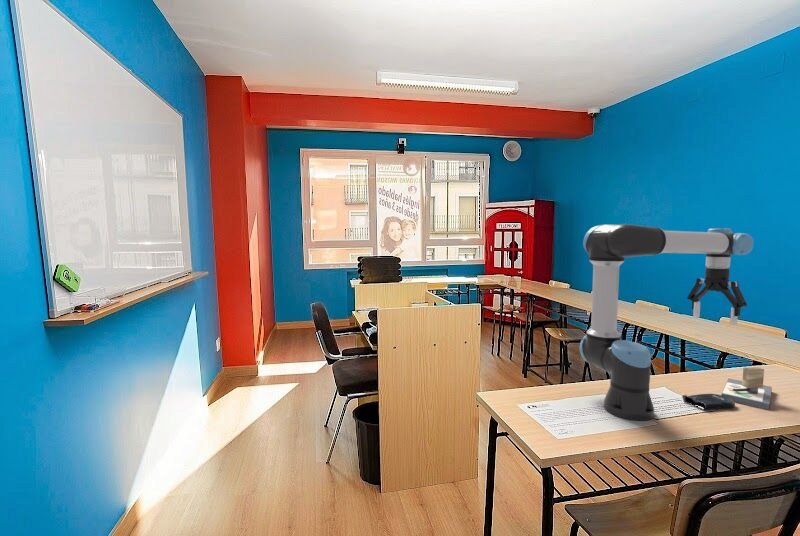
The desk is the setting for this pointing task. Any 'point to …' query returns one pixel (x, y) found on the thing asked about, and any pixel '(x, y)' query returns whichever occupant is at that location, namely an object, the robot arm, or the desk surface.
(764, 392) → the board
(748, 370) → the wooden block with bar
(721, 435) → the desk surface
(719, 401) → the dark grey hollow piece
